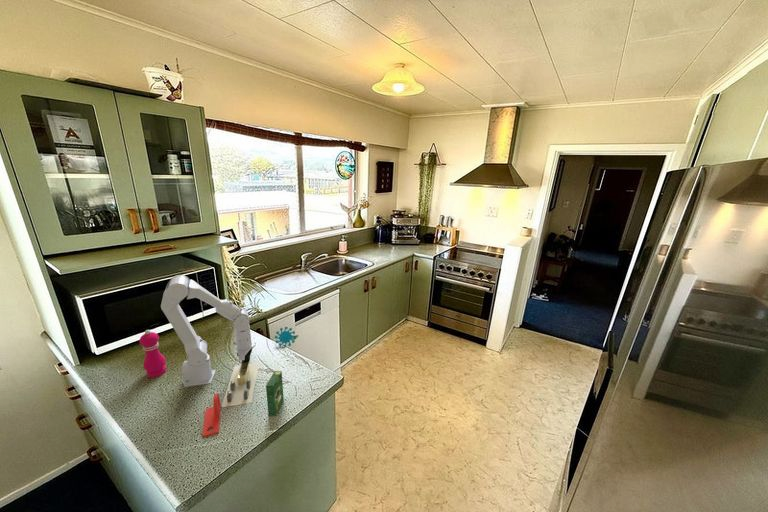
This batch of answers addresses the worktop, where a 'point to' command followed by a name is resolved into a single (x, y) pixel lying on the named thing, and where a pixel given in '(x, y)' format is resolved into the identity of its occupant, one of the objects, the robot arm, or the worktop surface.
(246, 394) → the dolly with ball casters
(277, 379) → the coffee box
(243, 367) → the sanding block
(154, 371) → the pepper mill
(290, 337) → the gear
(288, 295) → the worktop surface
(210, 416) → the bracket
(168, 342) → the worktop surface
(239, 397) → the mat
